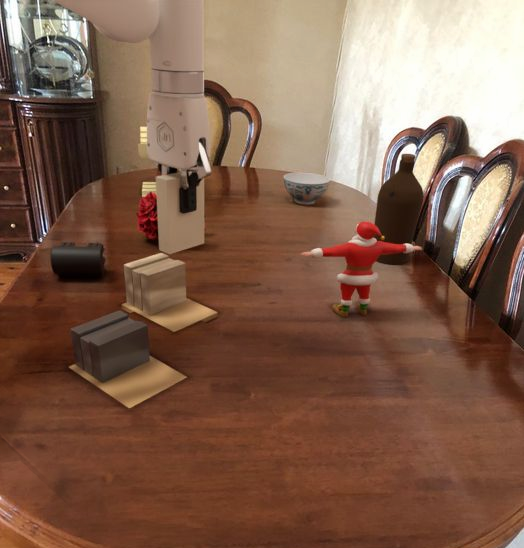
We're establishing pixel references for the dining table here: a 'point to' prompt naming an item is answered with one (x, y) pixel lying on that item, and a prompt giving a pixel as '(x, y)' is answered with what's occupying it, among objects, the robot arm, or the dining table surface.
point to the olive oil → (399, 209)
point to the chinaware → (306, 186)
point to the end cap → (78, 260)
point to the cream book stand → (162, 293)
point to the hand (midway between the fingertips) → (181, 208)
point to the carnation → (150, 216)
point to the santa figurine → (359, 264)
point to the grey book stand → (120, 359)
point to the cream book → (178, 216)
